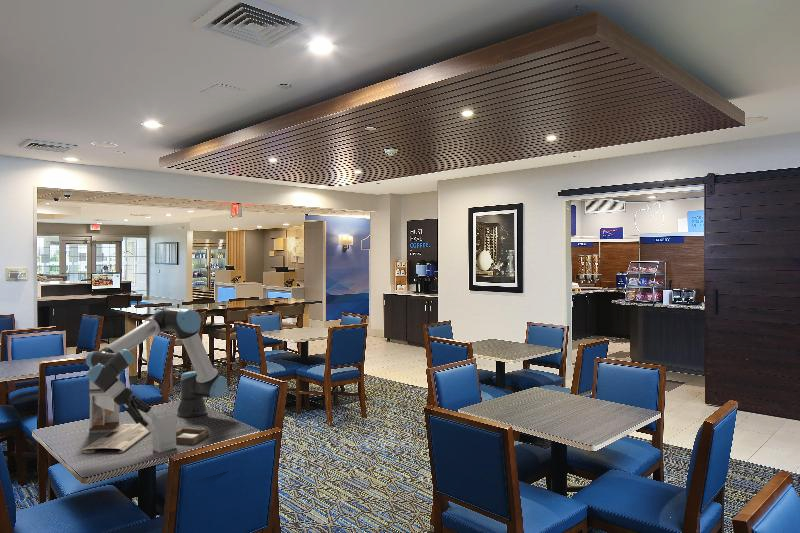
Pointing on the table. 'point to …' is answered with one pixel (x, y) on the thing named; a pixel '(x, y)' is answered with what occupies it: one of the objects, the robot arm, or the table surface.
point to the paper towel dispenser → (102, 410)
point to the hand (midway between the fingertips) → (156, 425)
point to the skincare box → (164, 431)
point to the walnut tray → (190, 435)
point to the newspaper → (119, 438)
